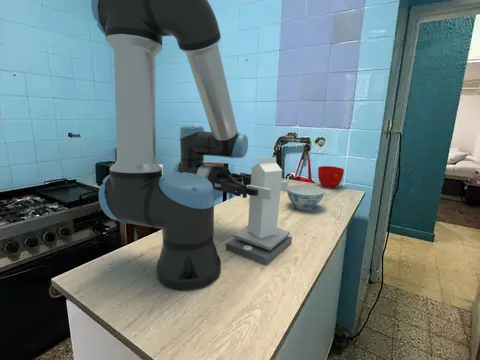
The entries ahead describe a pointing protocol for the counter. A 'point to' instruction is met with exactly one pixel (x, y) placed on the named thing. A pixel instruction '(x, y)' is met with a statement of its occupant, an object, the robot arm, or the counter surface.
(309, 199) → the chinaware
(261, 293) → the counter surface
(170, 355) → the counter surface
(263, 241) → the kitchen scale
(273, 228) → the milk
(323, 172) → the ceramic cup
